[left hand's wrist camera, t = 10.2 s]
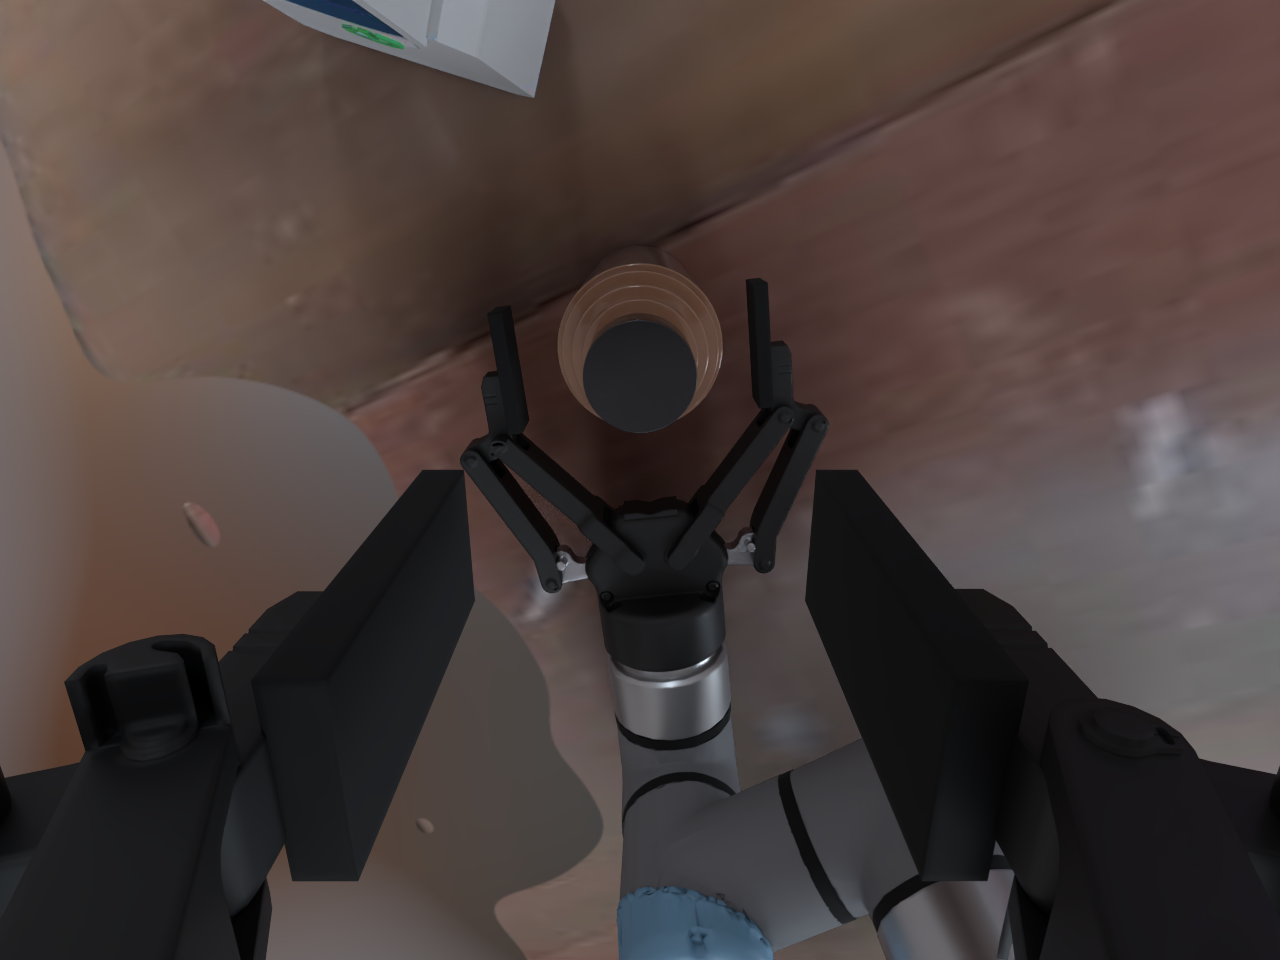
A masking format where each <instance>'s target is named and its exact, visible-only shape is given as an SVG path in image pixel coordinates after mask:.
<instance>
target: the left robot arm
mask: <svg viewBox="0 0 1280 960" xmlns="http://www.w3.org/2000/svg"><path fill="white" fill-rule="evenodd" d="M474 601H475V597H474V585H473V573H472V561H471V550H470V538H469V526H468V514H467V502H466V491H465V479H464V470H422V471H421V473H420V474H419V475H418V476H417V478H416V479H415V480H414V481H413V482H412V484H411V485H410V486H409V487H408V489H407V490H406V491H405V492H404V493H403V495H402V496H401V497H400V498H399V500H398V501H397V502H396V503H395V505H394V506H393V507H392V508H391V509H390V511H389V512H388V513H387V514H386V516H385V517H384V518H383V519H382V520H381V522H380V523H379V524H378V525H377V527H376V528H375V529H374V530H373V532H372V533H371V534H370V535H369V536H368V538H367V539H366V540H365V541H364V543H363V544H362V545H361V546H360V547H359V549H358V550H357V551H356V552H355V554H354V555H353V556H352V557H351V558H350V560H349V561H348V562H347V563H346V565H345V566H344V567H343V568H342V569H341V571H340V572H339V573H338V574H337V576H336V577H335V578H334V579H333V581H332V582H331V583H330V584H329V585H328V587H327V588H326V589H325V590H324V591H316V592H314V591H301V592H300V591H298V592H296V593H294V594H292V595H291V596H289V597H287V598H285V599H284V600H282V601H280V602H279V603H277V604H275V605H274V606H272V607H270V608H268V609H267V610H266V611H265V612H264V613H263V615H262V616H261V617H260V618H259V619H258V620H257V621H256V622H255V623H254V624H253V625H252V626H251V627H250V629H249V633H248V634H244V635H243V636H242V637H241V638H240V639H239V641H238V642H237V643H236V644H235V645H234V646H233V651H228V652H227V654H226V655H225V656H224V657H223V658H222V659H221V660H220V661H219V662H218V658H217V654H216V649H215V645H214V644H212V643H211V642H209V641H208V640H206V639H205V638H203V637H199V636H192V635H186V634H176V635H161V636H155V637H150V638H146V639H142V640H137V641H133V642H129V643H126V644H124V645H121V646H119V647H116V648H114V649H111V650H109V651H106V652H103V653H101V654H100V655H98V656H96V657H95V658H93V659H91V660H90V661H88V662H86V663H85V664H83V665H81V666H80V667H78V668H77V669H76V670H75V671H74V672H73V673H72V675H71V676H70V677H69V678H68V679H67V680H66V681H65V682H64V683H65V686H66V689H67V693H68V696H69V699H70V702H71V706H72V709H73V712H74V715H75V718H76V722H77V725H78V728H79V731H80V735H81V738H82V741H83V744H84V748H85V753H84V755H83V757H82V759H81V761H80V762H79V763H75V764H71V765H66V766H62V767H57V768H51V769H47V770H41V771H37V772H32V773H27V774H22V775H17V776H12V777H7V778H4V775H3V772H2V770H1V767H0V960H266V952H267V944H268V936H269V929H270V921H271V913H272V904H271V897H270V891H269V887H268V882H267V878H266V876H267V874H268V872H269V870H270V869H271V867H272V865H273V863H274V862H275V860H276V858H277V856H278V854H279V853H280V851H281V849H282V847H283V845H284V844H285V848H286V853H287V857H288V862H289V867H290V872H291V877H292V881H358V880H359V878H360V875H361V873H362V871H363V868H364V866H365V863H366V861H367V859H368V856H369V854H370V851H371V849H372V847H373V844H374V842H375V839H376V837H377V835H378V832H379V830H380V827H381V825H382V822H383V820H384V818H385V815H386V813H387V811H388V808H389V806H390V803H391V801H392V799H393V796H394V794H395V791H396V789H397V786H398V784H399V782H400V779H401V777H402V774H403V772H404V770H405V767H406V765H407V762H408V760H409V758H410V755H411V753H412V750H413V748H414V746H415V743H416V741H417V738H418V736H419V734H420V731H421V729H422V726H423V724H424V722H425V719H426V717H427V714H428V712H429V710H430V707H431V705H432V702H433V700H434V698H435V695H436V693H437V690H438V688H439V686H440V683H441V681H442V678H443V676H444V673H445V671H446V669H447V666H448V664H449V661H450V659H451V657H452V654H453V652H454V649H455V647H456V644H457V642H458V640H459V637H460V635H461V633H462V630H463V628H464V625H465V623H466V621H467V618H468V616H469V613H470V611H471V609H472V606H473V604H474ZM805 601H806V604H807V606H808V609H809V611H810V613H811V616H812V618H813V621H814V623H815V625H816V628H817V630H818V633H819V635H820V637H821V640H822V642H823V645H824V647H825V650H826V652H827V654H828V657H829V659H830V662H831V664H832V666H833V669H834V671H835V674H836V676H837V678H838V681H839V683H840V686H841V688H842V690H843V693H844V695H845V698H846V700H847V702H848V705H849V707H850V710H851V712H852V714H853V717H854V719H855V722H856V724H857V726H858V729H859V731H860V734H861V736H862V738H863V741H864V743H865V746H866V748H867V750H868V753H869V755H870V758H871V760H872V762H873V765H874V767H875V770H876V772H877V774H878V777H879V779H880V782H881V784H882V786H883V789H884V791H885V794H886V796H887V799H888V801H889V803H890V806H891V808H892V811H893V813H894V815H895V818H896V820H897V823H898V825H899V827H900V830H901V832H902V835H903V837H904V839H905V842H906V844H907V847H908V849H909V851H910V854H911V856H912V859H913V861H914V863H915V866H916V868H917V871H918V873H919V875H920V878H921V880H922V881H988V877H989V872H990V867H991V862H992V857H993V853H994V848H995V843H996V842H997V843H998V845H999V847H1000V849H1001V850H1002V852H1003V854H1004V856H1005V858H1006V859H1007V861H1008V863H1009V865H1010V867H1011V868H1012V870H1013V872H1014V878H1013V882H1012V887H1011V891H1010V896H1009V900H1008V905H1007V909H1006V914H1005V918H1004V922H1003V927H1002V931H1001V936H1000V940H999V947H998V953H997V958H998V959H1002V960H1008V957H1009V953H1010V949H1011V944H1013V950H1014V958H1015V960H1280V767H1279V770H1278V772H1277V775H1276V774H1271V773H1266V772H1261V771H1256V770H1251V769H1246V768H1241V767H1236V766H1231V765H1226V764H1221V763H1216V762H1211V761H1207V760H1203V759H1199V758H1198V756H1197V754H1196V752H1195V750H1194V749H1193V748H1192V746H1191V745H1190V744H1189V743H1188V741H1187V740H1186V739H1185V738H1184V736H1183V735H1182V734H1181V733H1180V732H1178V731H1177V730H1175V729H1174V728H1172V727H1171V726H1170V725H1168V724H1167V723H1165V722H1164V721H1163V720H1161V719H1160V718H1158V717H1155V716H1153V715H1151V714H1149V713H1147V712H1144V711H1142V710H1140V709H1138V708H1136V707H1133V706H1130V705H1126V704H1122V703H1119V702H1115V701H1111V700H1108V699H1098V698H1097V697H1096V695H1095V694H1094V693H1093V692H1092V691H1091V690H1090V689H1089V688H1088V687H1087V686H1086V685H1085V684H1084V683H1083V681H1082V680H1081V679H1080V678H1079V677H1078V676H1077V675H1076V674H1075V673H1074V672H1073V671H1072V670H1071V669H1070V667H1069V666H1068V665H1067V664H1066V663H1065V662H1064V661H1063V660H1062V659H1061V658H1060V657H1059V656H1058V654H1057V653H1056V652H1055V651H1054V650H1053V649H1052V648H1048V646H1047V645H1048V644H1047V643H1046V642H1045V640H1044V639H1043V638H1042V637H1041V636H1040V635H1039V634H1038V633H1037V632H1036V631H1032V626H1031V625H1030V624H1029V623H1028V622H1027V621H1026V620H1025V619H1024V618H1023V617H1022V616H1021V615H1020V613H1019V612H1018V611H1017V610H1016V609H1015V608H1014V607H1013V606H1011V605H1010V604H1008V603H1006V602H1005V601H1003V600H1001V599H999V598H998V597H996V596H994V595H992V594H991V593H989V592H987V591H986V590H984V589H954V588H953V587H952V585H951V584H950V583H949V582H948V580H947V579H946V578H945V577H944V576H943V574H942V573H941V572H940V571H939V569H938V568H937V567H936V566H935V565H934V563H933V562H932V561H931V560H930V558H929V557H928V556H927V555H926V554H925V552H924V551H923V550H922V549H921V547H920V546H919V545H918V544H917V543H916V541H915V540H914V539H913V538H912V536H911V535H910V534H909V533H908V531H907V530H906V529H905V528H904V527H903V525H902V524H901V523H900V522H899V520H898V519H897V518H896V517H895V516H894V514H893V513H892V512H891V511H890V509H889V508H888V507H887V506H886V505H885V503H884V502H883V501H882V500H881V498H880V497H879V496H878V495H877V493H876V492H875V491H874V490H873V489H872V487H871V486H870V485H869V484H868V482H867V481H866V480H865V479H864V478H863V476H862V475H861V474H860V473H859V471H858V470H816V479H815V491H814V502H813V514H812V526H811V538H810V550H809V561H808V573H807V585H806V597H805Z"/></svg>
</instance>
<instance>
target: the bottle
mask: <svg viewBox="0 0 1280 960" xmlns="http://www.w3.org/2000/svg"><path fill="white" fill-rule="evenodd" d="M632 313H647V314H653V315H656V316H659V317H662V318H664V319H666V320H668V321H669V322H671V323H672V324H673V325H675V326H676V327H677V328H678V329H679V330H680V331H681V332H682V333H683V335H684V336H685V338H686V339H687V341H688V343H689V345H690V348H691V351H692V353H693V356H694V359H695V362H696V367H697V386H696V391H695V394H694V397H693V399H692V401H691V403H690V405H689V406H688V408H687V410H686V411H685V412H684V413H683V414H682V415H681V416H680V417H679V418H678V419H680V418H681V417H683V416H685V415H686V414H688V413H689V412H690V411H692V410H693V409H694V408H695V407H696V406H697V405H698V404H699V403H700V402H701V401H702V400H703V399H704V398H705V397H706V395H707V394H708V392H709V391H710V389H711V388H712V386H713V384H714V382H715V380H716V378H717V375H718V372H719V369H720V365H721V360H722V351H723V341H722V332H721V327H720V323H719V320H718V317H717V314H716V312H715V310H714V308H713V306H712V304H711V303H710V301H709V300H708V298H707V297H706V295H705V294H704V292H703V291H702V290H701V288H700V287H699V285H698V284H697V283H696V281H695V280H694V278H693V277H692V276H691V274H690V273H689V271H688V270H687V269H686V267H685V266H684V265H683V264H682V263H681V262H680V261H679V260H678V259H676V258H675V257H674V256H672V255H671V254H669V253H667V252H665V251H663V250H661V249H658V248H655V247H650V246H630V247H625V248H622V249H619V250H617V251H614V252H613V253H611V254H609V255H608V256H606V257H605V258H604V259H602V260H601V261H600V262H599V263H598V264H597V265H596V266H595V268H594V269H593V270H592V271H591V273H590V274H589V276H588V277H587V278H586V280H585V281H584V283H583V284H582V285H581V287H580V288H579V290H578V291H577V292H576V294H575V295H574V297H573V298H572V299H571V301H570V303H569V304H568V306H567V308H566V310H565V312H564V315H563V317H562V319H561V323H560V327H559V332H558V339H557V353H558V360H559V365H560V369H561V372H562V375H563V377H564V380H565V382H566V384H567V386H568V387H569V389H570V391H571V392H572V394H573V395H574V396H575V398H576V399H577V400H578V401H579V402H580V403H581V404H582V405H583V406H584V407H585V408H586V409H587V410H588V411H590V412H591V413H592V414H594V415H595V416H597V417H599V418H600V419H602V418H601V417H600V416H599V415H598V414H597V413H596V412H595V411H594V409H593V408H592V407H591V405H590V403H589V401H588V399H587V397H586V394H585V390H584V386H583V367H584V362H585V359H586V356H587V353H588V350H589V348H590V345H591V343H592V341H593V339H594V338H595V336H596V335H597V334H598V332H599V331H600V330H601V329H602V328H603V327H604V326H605V325H607V324H608V323H609V322H611V321H612V320H614V319H616V318H618V317H621V316H623V315H627V314H632ZM678 419H677V420H678ZM602 420H603V419H602Z"/></svg>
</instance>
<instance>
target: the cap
mask: <svg viewBox="0 0 1280 960" xmlns="http://www.w3.org/2000/svg"><path fill="white" fill-rule="evenodd" d="M583 386H584V390H585V394H586V397H587V399H588V401H589V403H590V405H591V407H592V408H593V409H594V411H595V412H596V413H597V414H598V415H599V416H600V417H601V418H602V419H603V420H604V421H605V422H607V423H608V424H610V425H612V426H613V427H615V428H618V429H620V430H623V431H627V432H633V433H647V432H653V431H657V430H660V429H662V428H665V427H667V426H669V425H670V424H672V423H673V422H675V421H676V420H677V419H678V418H679V417H680V416H681V415H682V414H683V413H684V412H685V411H686V410H687V408H688V406H689V405H690V403H691V401H692V399H693V397H694V394H695V391H696V386H697V367H696V362H695V359H694V356H693V353H692V351H691V348H690V345H689V343H688V341H687V339H686V338H685V336H684V335H683V333H682V332H681V331H680V330H679V329H678V328H677V327H676V326H675V325H673V324H672V323H671V322H669V321H668V320H666V319H664V318H662V317H659V316H656V315H653V314H647V313H632V314H627V315H623V316H621V317H618V318H616V319H614V320H612V321H611V322H609V323H608V324H607V325H605V326H604V327H603V328H602V329H601V330H600V331H599V332H598V334H597V335H596V336H595V338H594V339H593V341H592V343H591V345H590V348H589V350H588V353H587V356H586V359H585V362H584V367H583Z"/></svg>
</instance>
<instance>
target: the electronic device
mask: <svg viewBox="0 0 1280 960" xmlns="http://www.w3.org/2000/svg"><path fill="white" fill-rule="evenodd" d="M263 1H265V2H266V3H268V4H270V5H271V6H273V7H275V8H276V9H278V10H280V11H281V12H283V13H285V14H286V15H288V16H290V17H291V18H293V19H295V20H296V21H298V22H300V23H301V24H303V25H305V26H308V27H311V28H313V29H316V30H318V31H321V32H324V33H326V34H329V35H331V36H334V37H337V38H340V39H343V40H346V41H350V42H353V43H356V44H359V45H362V46H365V47H368V48H372V49H375V50H378V51H381V52H384V53H387V54H391V55H394V56H397V57H400V58H403V59H406V60H409V61H413V62H416V63H419V64H422V65H425V66H428V67H432V68H435V69H438V70H441V71H444V72H447V73H450V74H454V75H457V76H460V77H463V78H466V79H469V80H473V81H476V82H479V83H482V84H485V85H488V86H491V87H495V88H498V89H501V90H504V91H507V92H510V93H514V94H517V95H522V96H527V97H532V98H534V97H535V92H536V88H537V83H538V78H539V74H540V69H541V65H542V60H543V55H544V51H545V46H546V41H547V37H548V32H549V28H550V23H551V18H552V14H553V9H554V5H555V0H263Z"/></svg>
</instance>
